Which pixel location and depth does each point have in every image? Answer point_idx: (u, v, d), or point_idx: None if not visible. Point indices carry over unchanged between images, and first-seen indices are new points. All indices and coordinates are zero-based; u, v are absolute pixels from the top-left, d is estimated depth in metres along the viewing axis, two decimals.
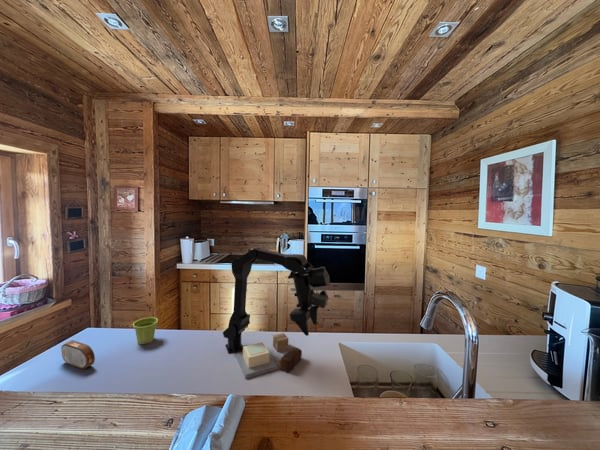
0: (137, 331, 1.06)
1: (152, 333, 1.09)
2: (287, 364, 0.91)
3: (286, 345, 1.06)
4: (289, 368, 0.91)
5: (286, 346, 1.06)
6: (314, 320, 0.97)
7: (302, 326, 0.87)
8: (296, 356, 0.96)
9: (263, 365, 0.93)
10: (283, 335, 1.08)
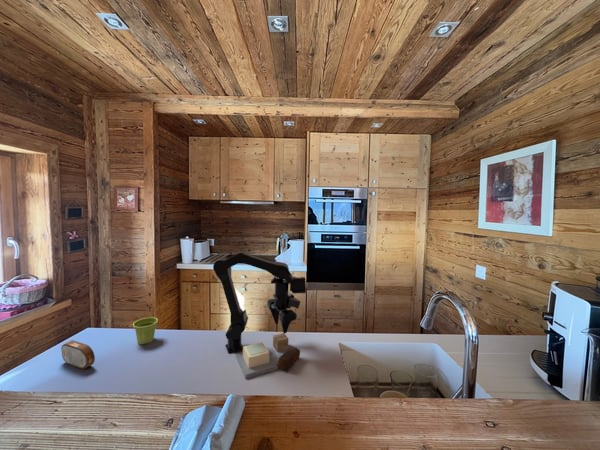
0: (137, 331, 1.06)
1: (152, 333, 1.09)
2: (285, 364, 0.91)
3: (286, 345, 1.06)
4: (287, 367, 0.92)
5: (286, 346, 1.06)
6: (277, 320, 1.11)
7: (285, 325, 1.02)
8: (294, 356, 0.97)
9: (263, 365, 0.93)
10: (283, 335, 1.08)
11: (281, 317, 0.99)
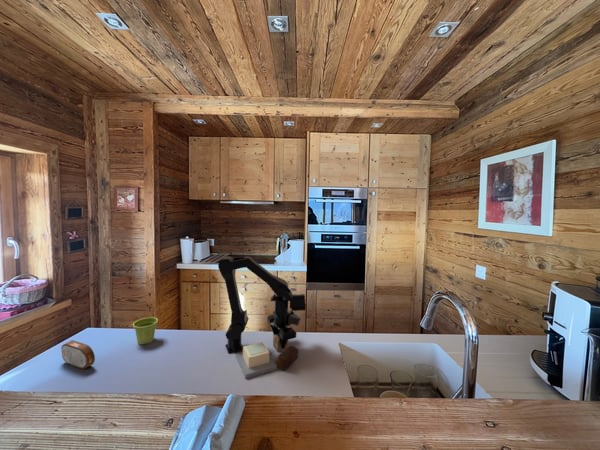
0: (137, 331, 1.06)
1: (152, 333, 1.09)
2: (283, 363, 0.92)
3: (286, 345, 1.06)
4: (285, 366, 0.92)
5: (286, 346, 1.06)
6: None
7: (283, 341, 1.04)
8: (293, 355, 0.97)
9: (263, 365, 0.93)
10: None
11: (281, 335, 0.99)
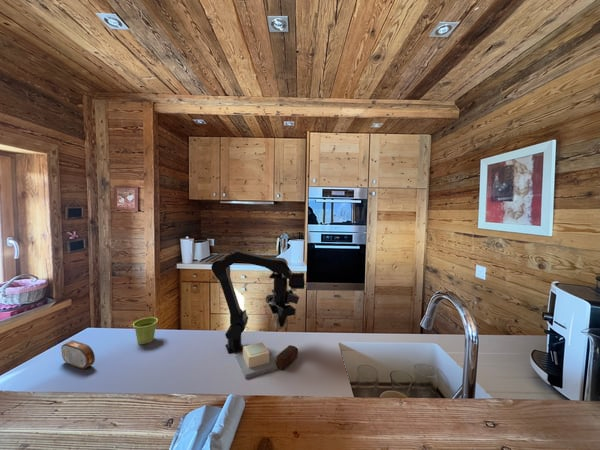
0: (137, 331, 1.06)
1: (152, 333, 1.09)
2: (282, 362, 0.92)
3: (285, 323, 1.05)
4: (284, 366, 0.93)
5: (285, 324, 1.05)
6: None
7: (282, 319, 1.02)
8: (292, 354, 0.97)
9: (263, 365, 0.93)
10: None
11: (280, 312, 0.98)
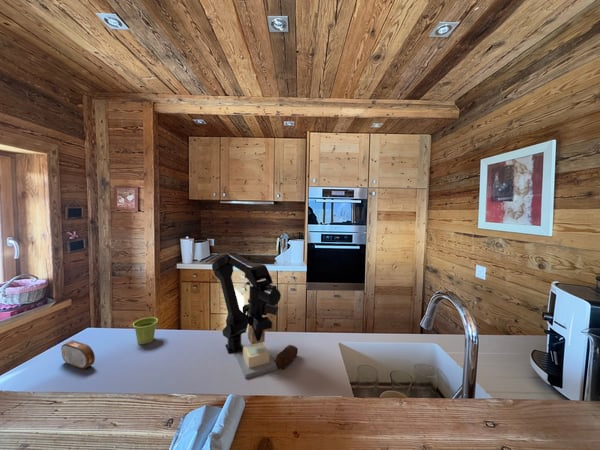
0: (137, 331, 1.06)
1: (152, 333, 1.09)
2: (282, 362, 0.93)
3: (262, 337, 0.94)
4: (284, 365, 0.93)
5: (262, 338, 0.94)
6: None
7: (258, 332, 0.92)
8: (292, 354, 0.98)
9: (263, 365, 0.93)
10: None
11: (254, 326, 0.87)
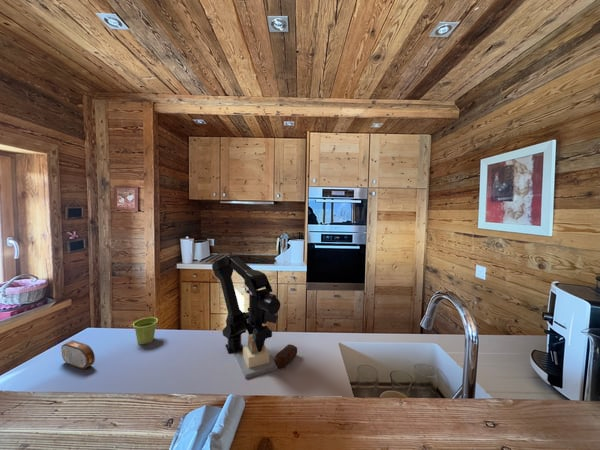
0: (137, 331, 1.06)
1: (152, 333, 1.09)
2: (282, 361, 0.93)
3: None
4: (284, 364, 0.93)
5: (262, 347, 0.95)
6: None
7: (259, 343, 0.91)
8: (291, 353, 0.98)
9: (263, 365, 0.93)
10: None
11: (254, 335, 0.87)
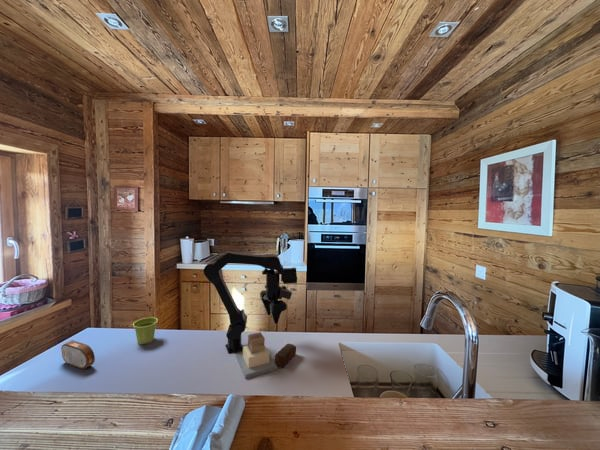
0: (137, 331, 1.06)
1: (152, 333, 1.09)
2: (281, 360, 0.94)
3: (262, 346, 0.95)
4: (283, 364, 0.94)
5: (262, 347, 0.95)
6: (269, 311, 1.12)
7: (275, 315, 1.02)
8: (291, 353, 0.99)
9: (263, 365, 0.93)
10: (259, 335, 0.97)
11: (271, 307, 0.99)
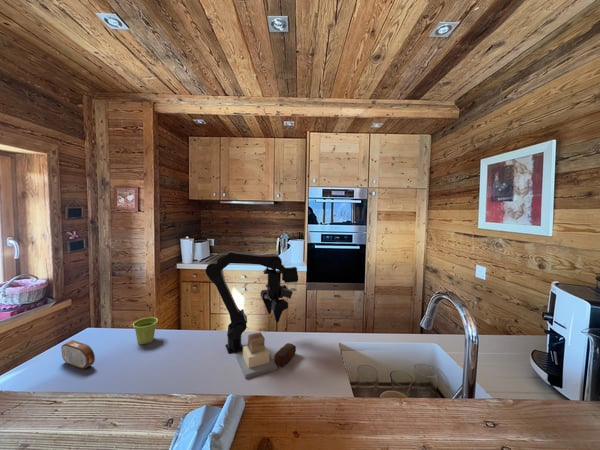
0: (137, 331, 1.06)
1: (152, 333, 1.09)
2: (281, 359, 0.94)
3: (262, 346, 0.95)
4: (283, 363, 0.94)
5: (262, 347, 0.95)
6: (270, 310, 1.13)
7: (277, 314, 1.04)
8: (290, 352, 0.99)
9: (263, 365, 0.93)
10: (259, 335, 0.97)
11: (273, 306, 1.01)
